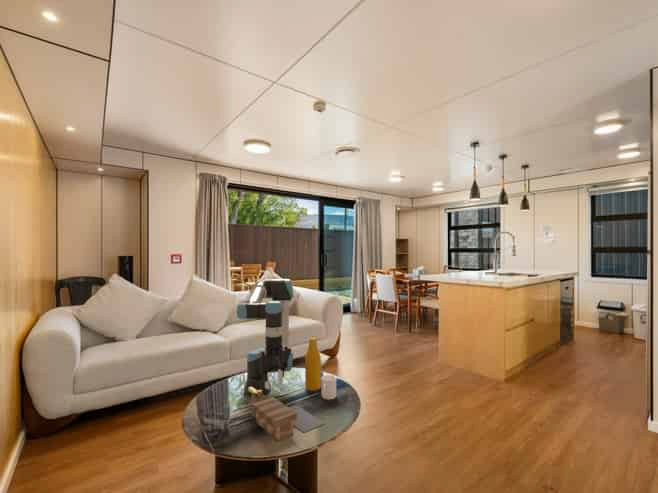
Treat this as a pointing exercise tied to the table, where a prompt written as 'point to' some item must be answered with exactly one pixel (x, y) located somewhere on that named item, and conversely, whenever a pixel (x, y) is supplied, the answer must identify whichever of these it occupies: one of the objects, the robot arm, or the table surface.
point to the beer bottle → (312, 366)
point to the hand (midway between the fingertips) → (273, 386)
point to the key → (255, 391)
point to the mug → (328, 387)
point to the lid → (274, 412)
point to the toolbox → (277, 432)
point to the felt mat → (305, 420)
